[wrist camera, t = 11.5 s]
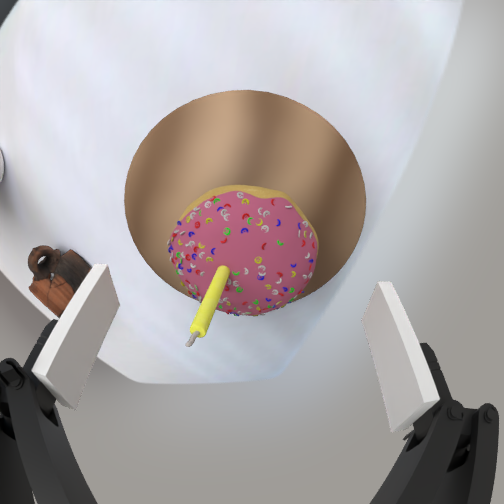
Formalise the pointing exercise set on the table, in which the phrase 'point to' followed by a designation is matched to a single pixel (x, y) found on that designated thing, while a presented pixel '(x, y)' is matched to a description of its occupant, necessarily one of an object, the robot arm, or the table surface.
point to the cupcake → (242, 252)
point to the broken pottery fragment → (56, 277)
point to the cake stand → (245, 173)
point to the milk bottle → (1, 166)
